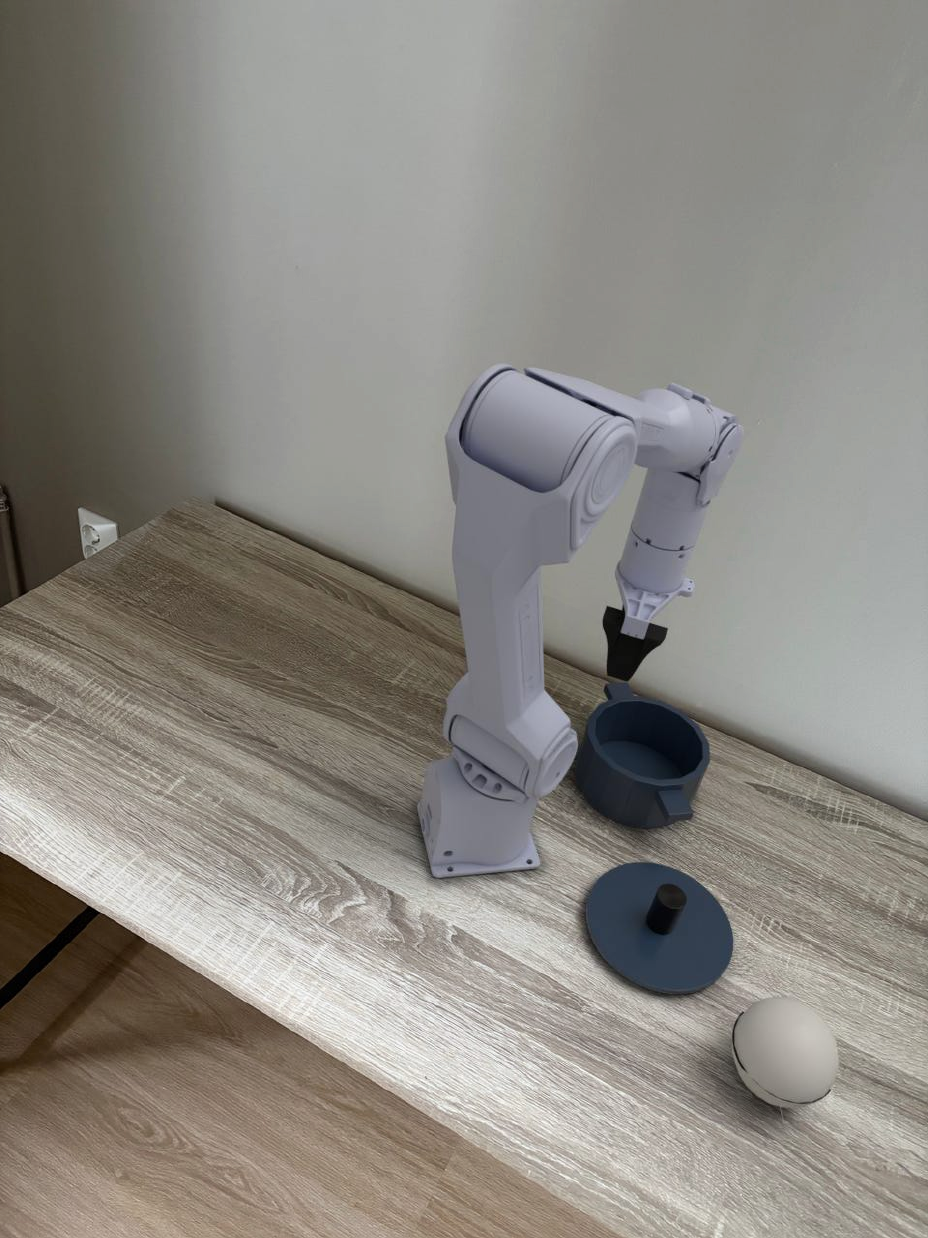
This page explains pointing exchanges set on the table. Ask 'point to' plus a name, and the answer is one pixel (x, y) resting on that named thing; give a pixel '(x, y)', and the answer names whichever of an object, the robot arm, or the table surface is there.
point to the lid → (659, 928)
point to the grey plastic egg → (785, 1052)
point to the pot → (641, 760)
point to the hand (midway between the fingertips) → (625, 652)
